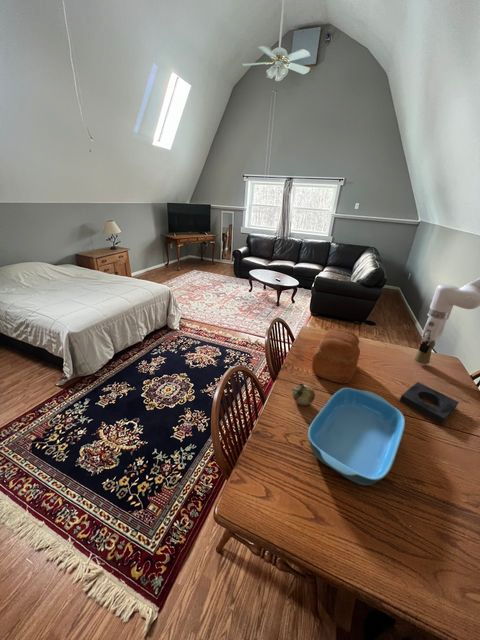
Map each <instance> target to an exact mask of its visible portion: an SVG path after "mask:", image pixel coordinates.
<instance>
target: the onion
mask: <svg viewBox="0 0 480 640" xmlns="http://www.w3.org/2000/svg"><path fill="white" fill-rule="evenodd" d="M291 391H292V397H293V400H294V401H295V403H297V404H298V405H301V406H309V405H310V404H312V403H313V402H314V400H315V397H316V394H315V393H316V392H315V391H314V389H313V387H311V386H309V385H308V384H307V385H306V384H304V383H300V382H299V384H297V386H296V387H293V386H291Z"/></svg>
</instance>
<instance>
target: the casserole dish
mask: <svg viewBox="0 0 480 640" xmlns="http://www.w3.org/2000/svg"><path fill="white" fill-rule="evenodd" d="M405 426H406V420H405V416H404V414H403V413H402V412H401V411H400V410H399V409H398V408H396V407H395V406H394V405H392V404H391V403H389V402H388V400H387V399H385V398H384V397H382V396H380V395H379V394H376V393H374V392H372V391H368V390H363V389H362V390H361V389H357V388H352V387H343V388H340V389H338V390H337V391H336V392H335V393H334V394H333V395H332V396H331V397H330V399H329V400H328V401H327V403H326V404H325V405H324V406H323V407H322V408H321V410H320V411H319V412H318V414H316V416H315V417H314V419H313V420H312V422H311V423H310V425H309V427H308V431H307V436H308V441H309V445H310V449H311V450H312V453H313V454H314V456H315V457H316V459H318V460H319V461H320V462H321V463H322V464H324V465H325V466H327V467H329V468H330V469H332V470H333V471H335V472H336V473H339V474H340V475H341V476H343V477H344V478H346V479H347V480H350V481H351V482H352V483H355V484H357V485H361V486H371V485H373V484H375V483H377V482H379V481H381V480H382V479H384V478H385V477H386V476H387V475H388V474H389V473H390V471H391V469H392V467H393V465H394V462H395V459H396V457H397V454H398V450H399V447H400V444H401V441H402V438H403V435H404V431H405Z"/></svg>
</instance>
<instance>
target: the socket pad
mask: <svg viewBox="0 0 480 640" xmlns="http://www.w3.org/2000/svg"><path fill="white" fill-rule="evenodd" d="M422 399H426V400H429V401H431V402H432V403H434V404H435V405H433V404H430V403H427V402H426V401H424V400H422ZM399 402H400V403H402V404H404V405H405V406H407V407H409V408H410V409H412V410H414V411H416V412H417V413H419V414H421V415H422V416H425V417H426V418H428V419H430V420H432V421H433V422H434V423H437V424H439V425H441V426H442V425H443V424H444V423H445V422H446V421H447V419H448V418H449V417H450V416H451V415H452V413H453V412H454V411H455V410H456V409H457V406H458V405H459V402H460V401H457V400H456V399H453V398H451V397H450V396H447V395H445V394H444V393H441V392H439V391H438V390H435V389H433V388H431V387H429V386H427V385H426V384H423V383H421V382H419V381H416V382H415V383H414V384H413V385H412V386H411V387H409V388H408V389H407V390H406V391H405V392H404V393H403V394H401V396H400V398H399Z"/></svg>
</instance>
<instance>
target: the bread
mask: <svg viewBox="0 0 480 640" xmlns="http://www.w3.org/2000/svg"><path fill="white" fill-rule="evenodd" d="M359 345H360V339H359V337H358V336H357V335H356V333H354V332H352V331H350V330H347V329H343V328H331V329H328V330H327V331H326V332H325V333H324V335H323V337H322V338H321V340H320V342H319V344H318V345H317V346H316V348H315V351H314V353H313V356H312V358H311V369H312V372H313V373H314V375H315V376H318V377H320V378H322V379H323V380H328V381H330V382H333V383H337V384H347V383H350V382H351V381H352V379H353V377H354V376H355V373H356V370H357V367H358V362H359V359H360V355H361V350H360V347H359Z"/></svg>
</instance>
